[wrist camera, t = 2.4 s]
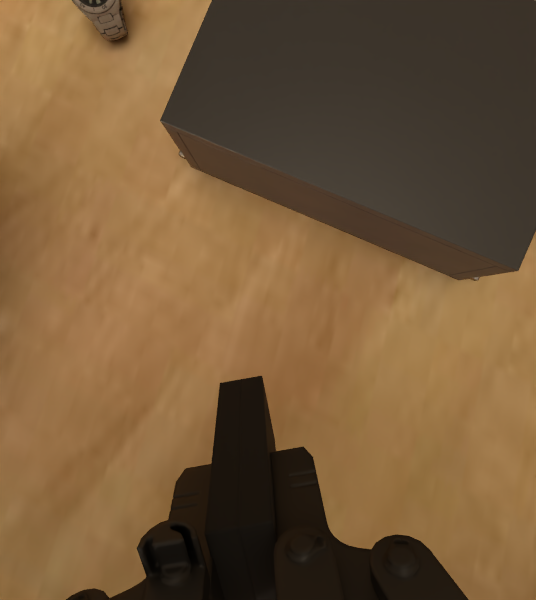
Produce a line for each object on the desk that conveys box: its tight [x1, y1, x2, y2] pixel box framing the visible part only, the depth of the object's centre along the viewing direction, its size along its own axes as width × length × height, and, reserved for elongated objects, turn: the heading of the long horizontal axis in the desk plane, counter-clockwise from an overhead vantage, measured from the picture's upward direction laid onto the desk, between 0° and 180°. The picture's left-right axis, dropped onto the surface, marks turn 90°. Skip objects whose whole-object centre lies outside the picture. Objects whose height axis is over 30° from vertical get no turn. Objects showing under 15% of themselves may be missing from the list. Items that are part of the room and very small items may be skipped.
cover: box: [160, 0, 536, 280], centre depth 28 cm, size 20×13×8 cm, turn 67°
